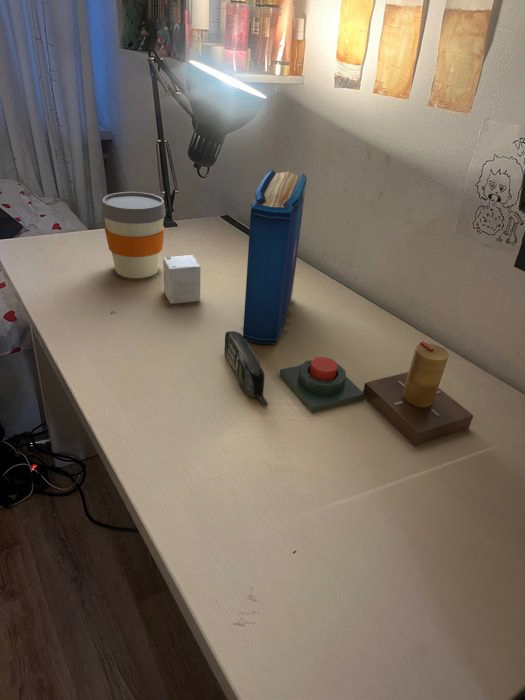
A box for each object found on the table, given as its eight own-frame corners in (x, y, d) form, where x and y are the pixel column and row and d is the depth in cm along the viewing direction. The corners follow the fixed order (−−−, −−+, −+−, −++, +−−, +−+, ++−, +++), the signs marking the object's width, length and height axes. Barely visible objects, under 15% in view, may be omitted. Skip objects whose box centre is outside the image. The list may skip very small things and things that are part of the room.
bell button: (326, 364, 78) (328, 354, 77) (340, 378, 75) (342, 368, 75) (304, 369, 77) (306, 359, 76) (318, 383, 74) (320, 373, 73)
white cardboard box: (200, 301, 99) (201, 266, 95) (169, 304, 97) (169, 268, 93) (192, 288, 103) (193, 254, 100) (163, 291, 101) (162, 256, 97)
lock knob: (439, 403, 72) (456, 354, 68) (416, 410, 70) (432, 360, 66) (418, 386, 75) (433, 338, 71) (396, 392, 74) (409, 344, 69)
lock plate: (412, 382, 81) (416, 368, 79) (468, 429, 72) (474, 414, 70) (361, 395, 77) (365, 381, 75) (414, 446, 68) (419, 431, 66)
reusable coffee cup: (96, 265, 109) (89, 195, 101) (147, 254, 117) (144, 188, 109) (125, 286, 102) (120, 213, 94) (178, 273, 109) (177, 204, 101)
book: (278, 352, 85) (295, 204, 72) (237, 346, 86) (246, 198, 73) (292, 298, 103) (307, 172, 90) (258, 293, 104) (268, 167, 91)
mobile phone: (222, 329, 81) (254, 380, 69) (239, 327, 82) (275, 377, 70) (221, 355, 83) (252, 409, 71) (238, 353, 84) (272, 405, 72)
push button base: (327, 365, 83) (330, 349, 81) (363, 400, 76) (367, 384, 74) (279, 375, 79) (281, 359, 78) (311, 413, 72) (314, 396, 70)
